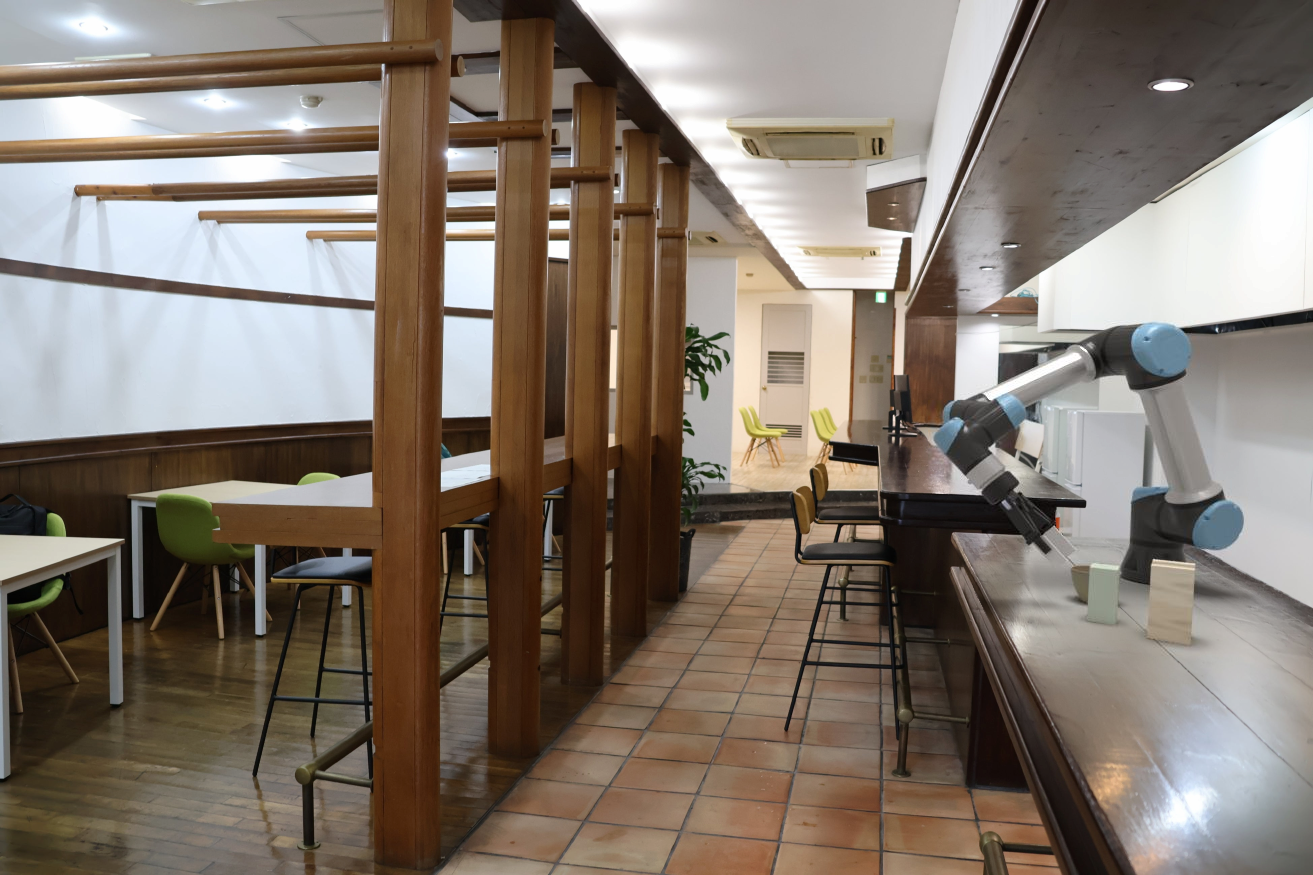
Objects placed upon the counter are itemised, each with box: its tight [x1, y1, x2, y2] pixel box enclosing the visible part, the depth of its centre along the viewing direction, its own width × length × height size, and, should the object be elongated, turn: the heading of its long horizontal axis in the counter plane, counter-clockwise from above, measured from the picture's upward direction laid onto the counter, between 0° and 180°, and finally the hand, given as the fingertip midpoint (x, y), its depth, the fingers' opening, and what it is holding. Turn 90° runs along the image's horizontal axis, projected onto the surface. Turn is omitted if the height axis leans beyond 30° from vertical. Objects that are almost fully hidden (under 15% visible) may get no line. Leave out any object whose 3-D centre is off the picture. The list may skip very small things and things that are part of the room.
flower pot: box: [1070, 564, 1122, 604], centre depth 194 cm, size 10×10×7 cm
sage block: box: [1086, 562, 1121, 626], centre depth 179 cm, size 5×5×11 cm
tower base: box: [1146, 601, 1194, 646], centre depth 167 cm, size 7×7×7 cm
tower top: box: [1148, 559, 1196, 609], centre depth 167 cm, size 7×7×7 cm
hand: (1066, 559), depth 181 cm, fingers open, 13 cm apart
